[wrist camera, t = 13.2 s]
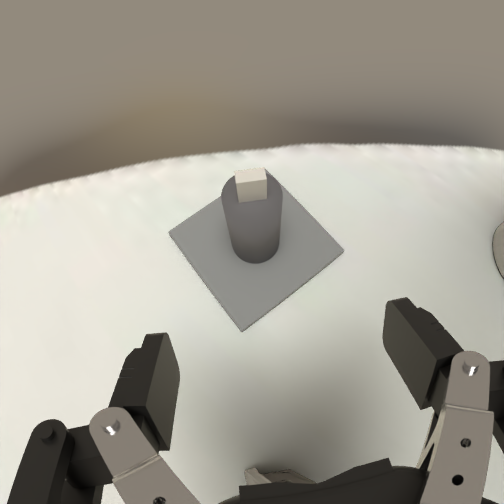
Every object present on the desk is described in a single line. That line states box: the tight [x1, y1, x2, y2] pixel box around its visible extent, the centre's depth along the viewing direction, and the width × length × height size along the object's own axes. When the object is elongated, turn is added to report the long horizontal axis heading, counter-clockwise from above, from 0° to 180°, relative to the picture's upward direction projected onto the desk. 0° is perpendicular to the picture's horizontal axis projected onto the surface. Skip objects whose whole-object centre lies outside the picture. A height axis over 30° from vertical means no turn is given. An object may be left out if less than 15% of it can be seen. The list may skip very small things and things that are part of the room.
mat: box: [168, 169, 344, 332], centre depth 31 cm, size 12×12×1 cm
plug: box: [221, 167, 283, 264], centre depth 26 cm, size 4×4×10 cm
